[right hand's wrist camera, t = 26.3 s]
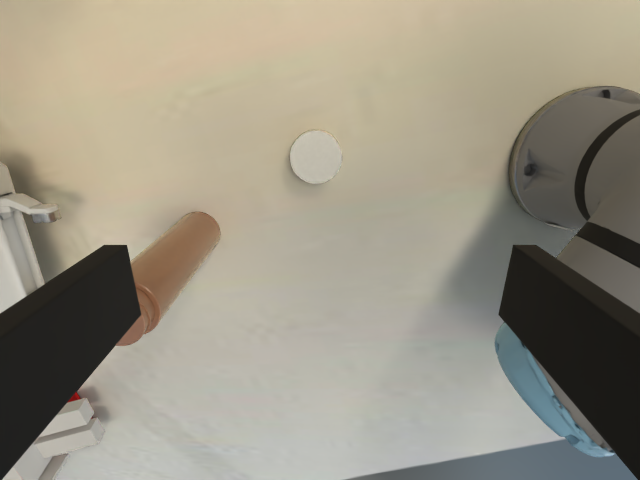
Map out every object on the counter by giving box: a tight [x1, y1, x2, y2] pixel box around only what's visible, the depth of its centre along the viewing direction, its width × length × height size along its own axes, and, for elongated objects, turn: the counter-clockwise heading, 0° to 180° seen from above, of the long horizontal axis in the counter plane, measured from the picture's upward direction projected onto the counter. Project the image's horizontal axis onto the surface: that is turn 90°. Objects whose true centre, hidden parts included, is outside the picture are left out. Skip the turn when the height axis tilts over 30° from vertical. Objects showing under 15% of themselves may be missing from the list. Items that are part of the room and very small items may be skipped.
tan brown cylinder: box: [116, 212, 220, 346], centre depth 35 cm, size 5×5×19 cm
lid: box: [290, 130, 342, 184], centre depth 39 cm, size 6×6×2 cm
